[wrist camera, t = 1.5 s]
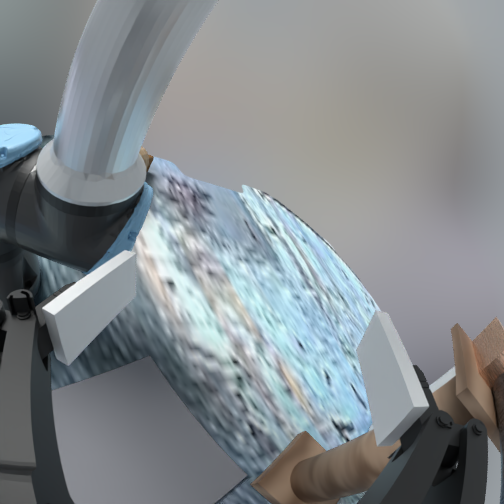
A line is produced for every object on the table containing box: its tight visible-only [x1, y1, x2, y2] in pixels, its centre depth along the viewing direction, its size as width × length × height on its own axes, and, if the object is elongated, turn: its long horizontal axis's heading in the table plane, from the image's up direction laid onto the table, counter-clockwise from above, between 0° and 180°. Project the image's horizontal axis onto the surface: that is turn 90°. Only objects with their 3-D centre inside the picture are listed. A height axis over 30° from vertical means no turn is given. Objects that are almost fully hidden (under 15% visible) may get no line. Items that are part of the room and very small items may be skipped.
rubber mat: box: [52, 356, 247, 504], centre depth 20 cm, size 22×28×1 cm
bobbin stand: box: [250, 323, 501, 504], centre depth 22 cm, size 13×13×30 cm
